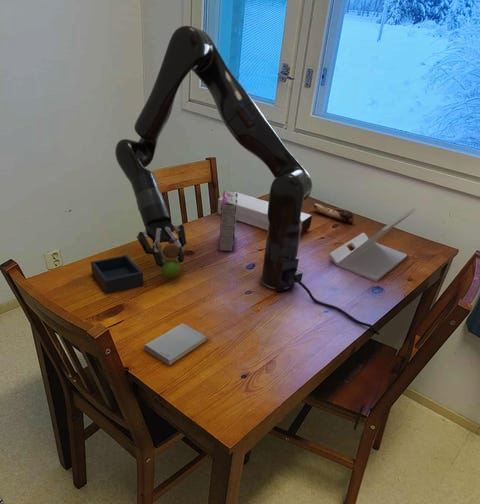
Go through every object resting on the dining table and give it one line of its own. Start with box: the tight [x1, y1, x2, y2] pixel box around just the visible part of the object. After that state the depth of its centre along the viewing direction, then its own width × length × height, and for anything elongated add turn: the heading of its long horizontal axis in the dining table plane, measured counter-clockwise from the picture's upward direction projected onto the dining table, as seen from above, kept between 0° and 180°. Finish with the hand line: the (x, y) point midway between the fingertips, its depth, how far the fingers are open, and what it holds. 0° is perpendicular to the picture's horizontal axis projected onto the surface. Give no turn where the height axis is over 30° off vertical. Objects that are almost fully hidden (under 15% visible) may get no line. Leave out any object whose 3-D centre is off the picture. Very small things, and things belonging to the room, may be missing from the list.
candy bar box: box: [218, 190, 239, 252], centre depth 150 cm, size 11×5×16 cm, turn 179°
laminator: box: [216, 191, 313, 235], centre depth 170 cm, size 34×12×6 cm, turn 58°
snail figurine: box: [157, 239, 181, 279], centre depth 128 cm, size 5×6×12 cm
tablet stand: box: [328, 208, 416, 282], centre depth 150 cm, size 18×25×17 cm
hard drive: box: [143, 322, 207, 366], centre depth 108 cm, size 2×8×12 cm
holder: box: [90, 254, 144, 295], centre depth 129 cm, size 12×11×4 cm
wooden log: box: [313, 203, 354, 224], centre depth 183 cm, size 9×5×18 cm
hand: (171, 263), depth 128 cm, fingers closed on snail figurine, 5 cm apart
